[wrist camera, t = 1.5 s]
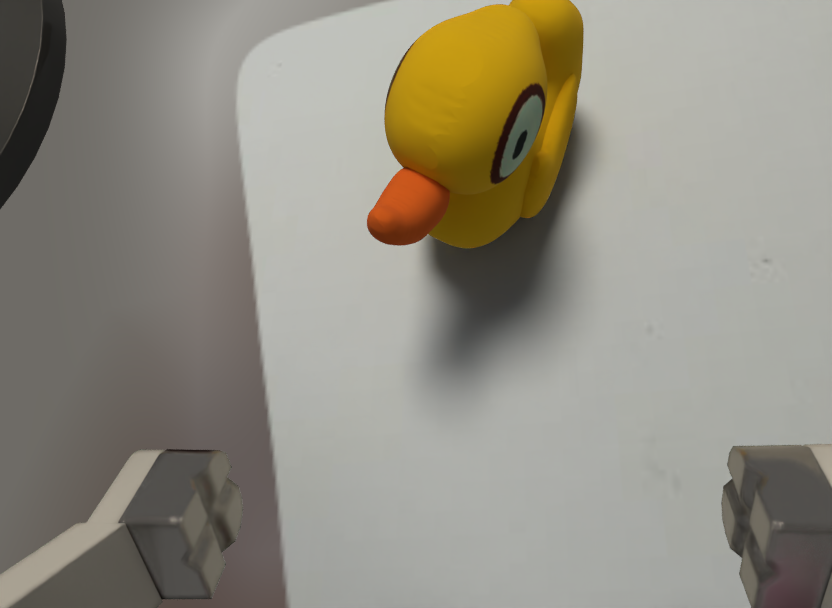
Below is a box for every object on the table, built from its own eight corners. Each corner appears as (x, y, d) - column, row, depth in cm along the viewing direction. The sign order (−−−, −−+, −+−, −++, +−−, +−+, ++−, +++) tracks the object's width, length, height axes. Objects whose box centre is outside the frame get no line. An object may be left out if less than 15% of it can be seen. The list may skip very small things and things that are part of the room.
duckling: (479, 336, 26) (453, 262, 17) (365, 275, 28) (282, 173, 18) (612, 100, 28) (658, -92, 18) (498, 53, 29) (485, -149, 20)
